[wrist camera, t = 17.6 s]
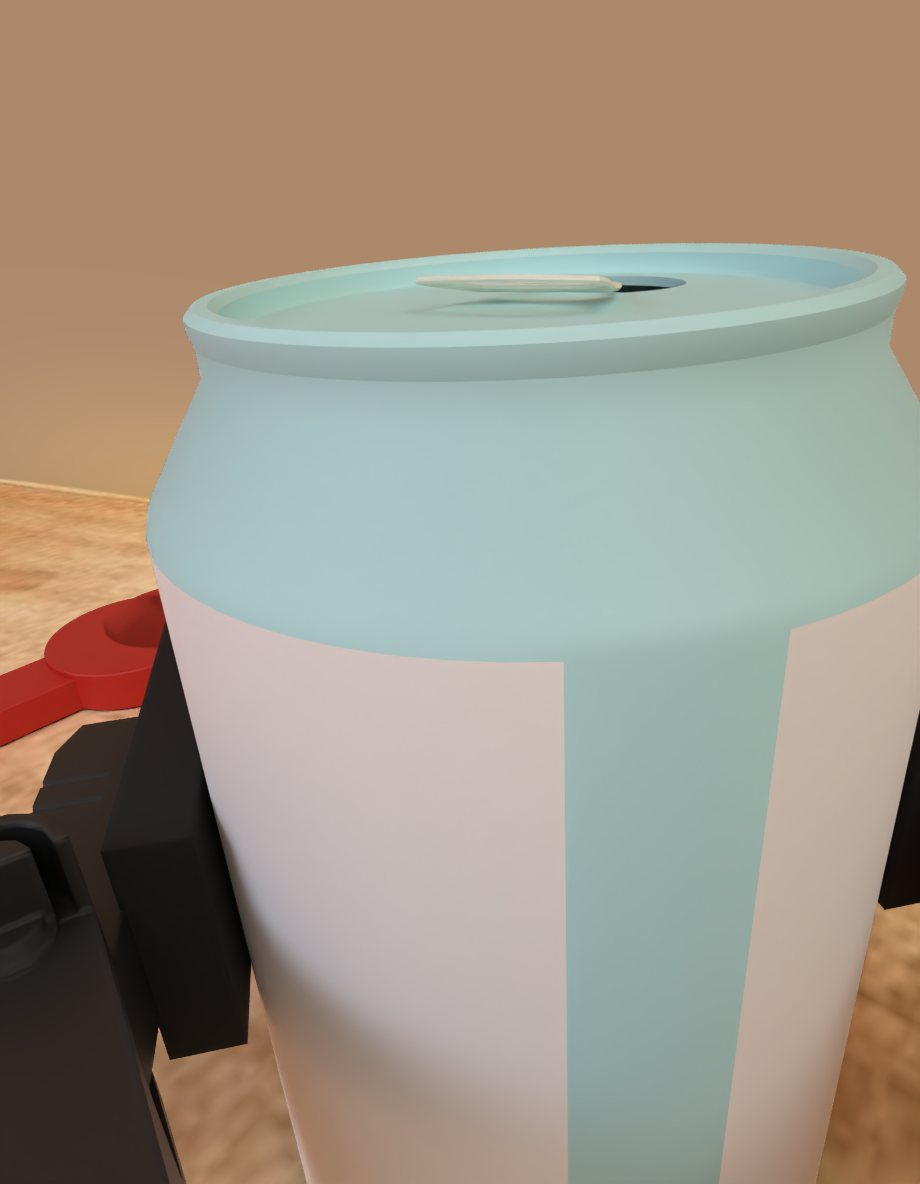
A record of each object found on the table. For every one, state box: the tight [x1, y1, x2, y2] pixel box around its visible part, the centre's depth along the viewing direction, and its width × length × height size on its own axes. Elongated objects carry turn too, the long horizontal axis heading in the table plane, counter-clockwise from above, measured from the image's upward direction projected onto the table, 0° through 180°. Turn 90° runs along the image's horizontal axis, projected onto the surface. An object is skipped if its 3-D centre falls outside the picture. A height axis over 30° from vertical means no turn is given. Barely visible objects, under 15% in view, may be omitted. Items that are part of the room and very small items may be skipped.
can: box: [146, 243, 920, 1184], centre depth 10 cm, size 7×7×12 cm
